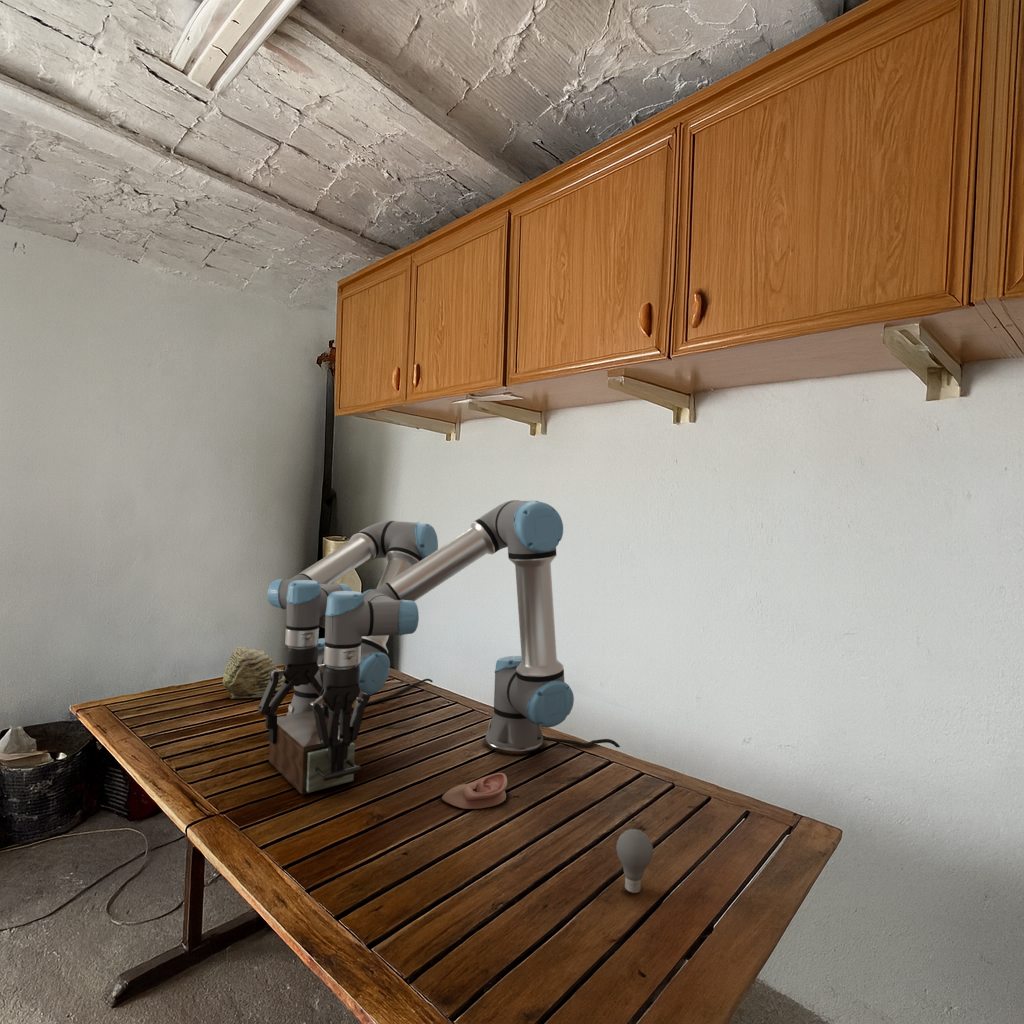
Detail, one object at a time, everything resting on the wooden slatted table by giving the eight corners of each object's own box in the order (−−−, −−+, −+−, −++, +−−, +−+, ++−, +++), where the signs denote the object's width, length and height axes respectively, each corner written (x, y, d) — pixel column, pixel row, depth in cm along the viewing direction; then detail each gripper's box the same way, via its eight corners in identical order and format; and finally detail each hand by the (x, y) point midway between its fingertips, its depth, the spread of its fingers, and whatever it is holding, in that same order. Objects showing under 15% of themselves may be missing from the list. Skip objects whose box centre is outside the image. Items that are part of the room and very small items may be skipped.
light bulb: (610, 879, 108) (613, 822, 108) (644, 879, 109) (647, 822, 109) (619, 902, 102) (622, 840, 102) (655, 901, 103) (658, 840, 103)
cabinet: (352, 781, 142) (353, 736, 141) (301, 794, 134) (303, 747, 134) (315, 750, 157) (316, 709, 157) (268, 761, 150) (270, 718, 150)
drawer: (364, 790, 136) (366, 752, 135) (318, 803, 129) (320, 763, 129) (318, 751, 155) (319, 718, 154) (276, 761, 148) (277, 726, 148)
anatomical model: (437, 786, 132) (453, 764, 143) (436, 805, 132) (453, 781, 143) (499, 795, 129) (511, 771, 140) (499, 814, 129) (510, 789, 141)
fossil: (218, 695, 195) (220, 647, 195) (278, 685, 208) (279, 640, 207) (228, 703, 189) (230, 653, 188) (289, 692, 201) (290, 645, 201)
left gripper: (255, 655, 140) (251, 752, 141) (355, 643, 156) (351, 731, 156) (245, 648, 146) (241, 741, 147) (341, 637, 161) (338, 722, 162)
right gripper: (319, 673, 127) (314, 790, 127) (378, 665, 135) (373, 774, 136) (305, 664, 133) (300, 776, 133) (362, 657, 141) (357, 762, 141)
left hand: (298, 736), depth 151 cm, fingers closed on cabinet, 11 cm apart
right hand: (336, 775), depth 134 cm, fingers closed
